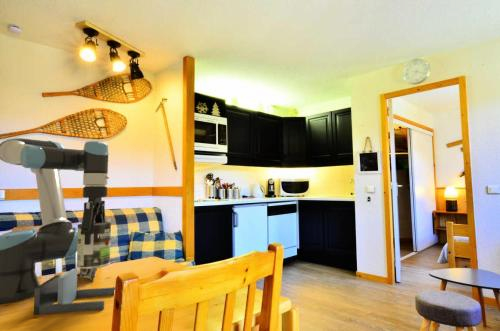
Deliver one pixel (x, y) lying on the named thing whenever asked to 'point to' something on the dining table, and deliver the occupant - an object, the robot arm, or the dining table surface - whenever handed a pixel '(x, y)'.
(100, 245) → the coffee can
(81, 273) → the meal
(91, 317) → the dining table surface
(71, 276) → the pusher plate
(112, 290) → the lane
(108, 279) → the dining table surface
